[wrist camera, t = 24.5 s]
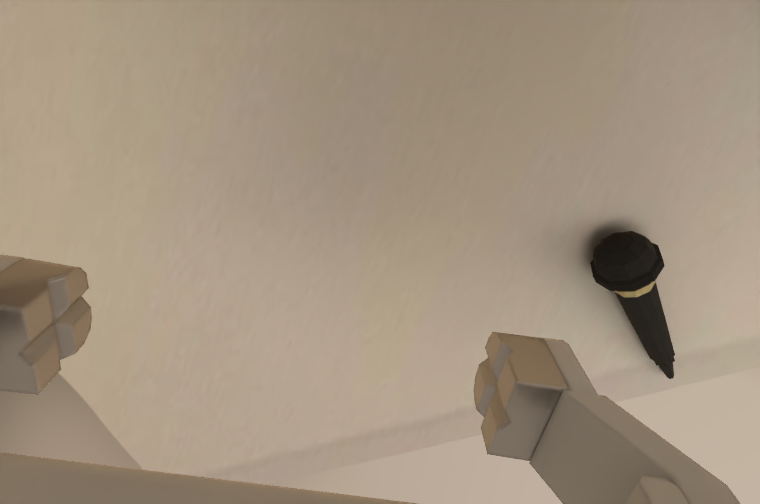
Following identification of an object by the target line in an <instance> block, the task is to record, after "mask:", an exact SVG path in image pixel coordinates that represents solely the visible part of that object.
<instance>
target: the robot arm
mask: <svg viewBox="0 0 760 504" xmlns="http://www.w3.org/2000/svg"><path fill="white" fill-rule="evenodd" d="M88 288H89V287H88V281H87V275H86V272H85V271H83V270H82V269H81V268H79V267H73V266H67V265H62V264H56V263H50V262H44V261H39V260H33V259H25V258H22V257H15V256H8V255H0V391H9V392H19V393H29V394H37V395H38V394H39V393H40V392H41V391H42V389H43V388H44V387H45V386H46V385H47V384H48V383H49V382H50V381H51V380H52V379H53V377H54V376H55V375H56V374H57V373H58V372H59V371H60V370H61V366H60V360H61V359H64V358H66V357H68V356H71V355H73V354H75V353H76V352H77V351H78V350H79V349H80V348H81V346H82V345H83V344H84V342H85V340H86V338H87V336H88V333H89V331H90V328H91V320H92V315H91V307H90V306H89V304H88V303H87V302H86V301H85V300H84V299H83V297H82V295H83V294H84V293H85V292H86V290H87V289H88ZM485 348H486V352H487V355H488V358H487V359H486V360H485V361H483V362H482V363H481V364H479V367H478V370H477V373H476V377H475V384H474V400H475V405H476V409H477V411H478V412H479V413H480V414H481V415H482V416H483V417H484V419H483V422H482V425H481V430H482V434H483V438H484V441H485V446H486V450H487V454H490V455H496V456H502V457H508V458H515V459H522V460H527V461H530V464H531V465H532V466H533V468H534V469H535V470H536V471H537V473H538V474H539V475H540V476H541V477H542V479H543V480H544V481H545V482H546V483H547V485H548V486H549V487H550V488H551V489H552V491H553V492H554V493H555V494H556V495H557V497H558V498H559V499H560V500H561V502H562V503H563V504H740V502H739V501H738V500H737V499H736V497H735V496H734V494H733V493H732V492H731V490H730V489H729V488H728V486H727V485H726V484H724V483H723V482H722V481H720V480H719V479H718V478H716V477H715V476H714V475H712V474H711V473H710V472H708V471H707V470H705V469H704V468H703V467H701V466H700V465H699V464H697V463H696V462H694V461H693V460H692V459H690V458H689V457H688V456H686V455H685V454H683V453H682V452H681V451H680V450H678V449H677V448H675V447H674V446H673V445H671V444H670V443H668V442H667V441H666V440H665V439H663V438H662V437H660V436H659V435H658V434H656V433H655V432H654V431H652V430H651V429H649V428H648V427H647V426H645V425H644V424H643V423H641V422H640V421H639V420H637V419H636V418H635V417H633V416H632V415H630V414H629V413H628V412H626V411H625V410H624V409H622V408H621V407H620V406H618V405H617V404H615V403H614V402H613V401H611V400H610V399H609V398H607V397H606V396H602V395H598V394H597V393H596V391H595V389H594V387H593V386H592V384H591V382H590V380H589V379H588V377H587V375H586V374H585V372H584V370H583V368H582V367H581V365H580V363H579V361H578V360H577V358H576V356H575V354H574V353H573V351H572V349H571V348H570V346H569V344H568V343H566V342H565V341H563V340H556V339H547V338H536V337H529V336H521V335H514V334H506V333H499V332H492V334H491V335H490V337H489V339H488V341H487V344H486V347H485ZM0 504H416V503H408V502H400V501H391V500H384V499H376V498H368V497H360V496H351V495H344V494H335V493H328V492H320V491H312V490H304V489H296V488H288V487H280V486H271V485H263V484H255V483H247V482H238V481H230V480H222V479H214V478H205V477H197V476H189V475H181V474H173V473H164V472H156V471H148V470H140V469H131V468H123V467H115V466H107V465H97V464H90V463H82V462H74V461H66V460H58V459H49V458H41V457H33V456H25V455H17V454H9V453H0Z"/></svg>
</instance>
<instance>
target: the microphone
mask: <svg viewBox="0 0 760 504" xmlns="http://www.w3.org/2000/svg"><path fill="white" fill-rule="evenodd" d="M663 267H664V262H663V259H662V256H661V253H660V250H659V247H658V245H656V244H653V243H651V242H650V240H648V239H647V238H646V237H645V236H642V235H640V234H638V233H635V232H633V231H628V232H617V233H614V234H612V235H610V236H608V237H606V238H604V239H602V240H601V241H600V242H599V244H598V245H597V247H596V248H595V249H594V253H593V260H592V262H591V268H592V273H593V277H594V279H595V281H596V282H597V283H598V284H600V285H602V286H603V287H605V288H607V289H609V290H610V291H615V293H616V295H617V297H618V299H619V301H620V303H621V305H622V306H623V308H624V310H625V312H626V314H627V316H628V318H629V320H630V321H631V323H632V325H633V327H634V329H635V331H636V333H637V334H638V336H639V338H640V340H641V342H642V344H643V346H644V348H645V349H646V351H647V353H648V355H649V357H650V359H652V360H653V361H655V364H656V365H659V367H660V368H661V369H662V371H663V372H664V373H665V375H666V376H667V377H668V378H669V379H671V378H673V377H674V371H673V363H672V362H674V361H675V360H674V355H675V354H674V350H673V346H672V342H671V339H670V335H669V331H668V327H667V324H666V320H665V316H664V312H663V309H662V305H661V301H660V297H659V294H658V290H657V286H656V282H655V279H656V278H657V276H658V275H659V273H660V272H661V270H662V269H663Z"/></svg>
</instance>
